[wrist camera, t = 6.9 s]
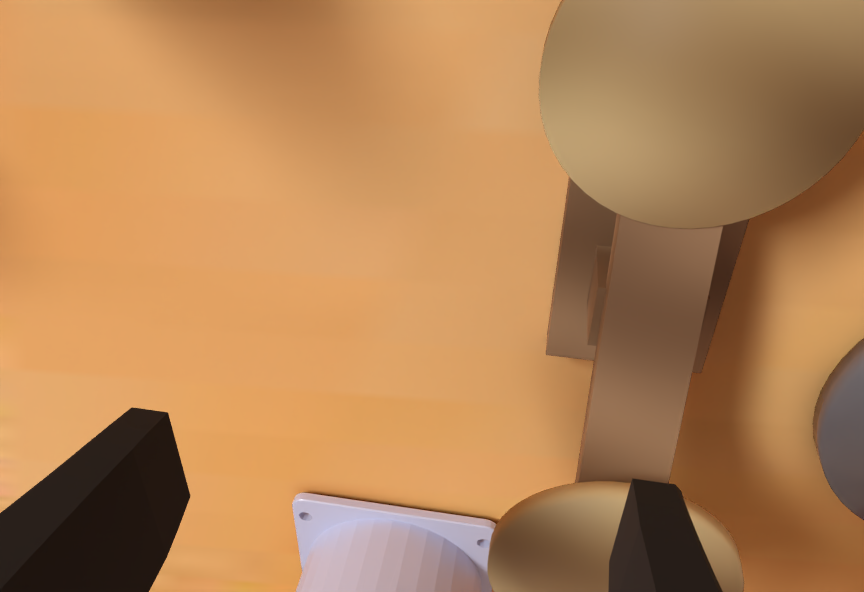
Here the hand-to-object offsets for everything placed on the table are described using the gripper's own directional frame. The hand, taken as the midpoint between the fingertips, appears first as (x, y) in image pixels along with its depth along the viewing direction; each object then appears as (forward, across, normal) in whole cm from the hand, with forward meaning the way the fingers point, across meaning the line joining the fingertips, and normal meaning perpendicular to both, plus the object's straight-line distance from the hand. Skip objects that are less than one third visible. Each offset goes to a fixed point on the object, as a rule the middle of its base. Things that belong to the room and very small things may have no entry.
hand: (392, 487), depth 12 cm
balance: (+10, -5, +2) cm, 12 cm away
